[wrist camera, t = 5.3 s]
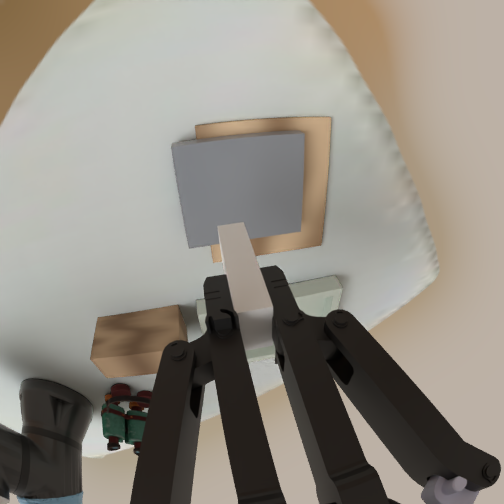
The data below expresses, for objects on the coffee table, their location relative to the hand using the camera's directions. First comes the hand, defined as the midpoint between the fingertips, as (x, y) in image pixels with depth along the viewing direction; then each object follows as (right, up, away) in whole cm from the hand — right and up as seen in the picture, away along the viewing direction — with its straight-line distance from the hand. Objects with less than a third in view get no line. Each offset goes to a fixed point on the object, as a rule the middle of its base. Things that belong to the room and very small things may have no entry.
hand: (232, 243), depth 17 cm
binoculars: (-19, -23, +24) cm, 38 cm away
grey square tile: (-5, +4, +5) cm, 8 cm away
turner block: (-12, -9, +14) cm, 21 cm away
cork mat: (+2, +5, +8) cm, 10 cm away
